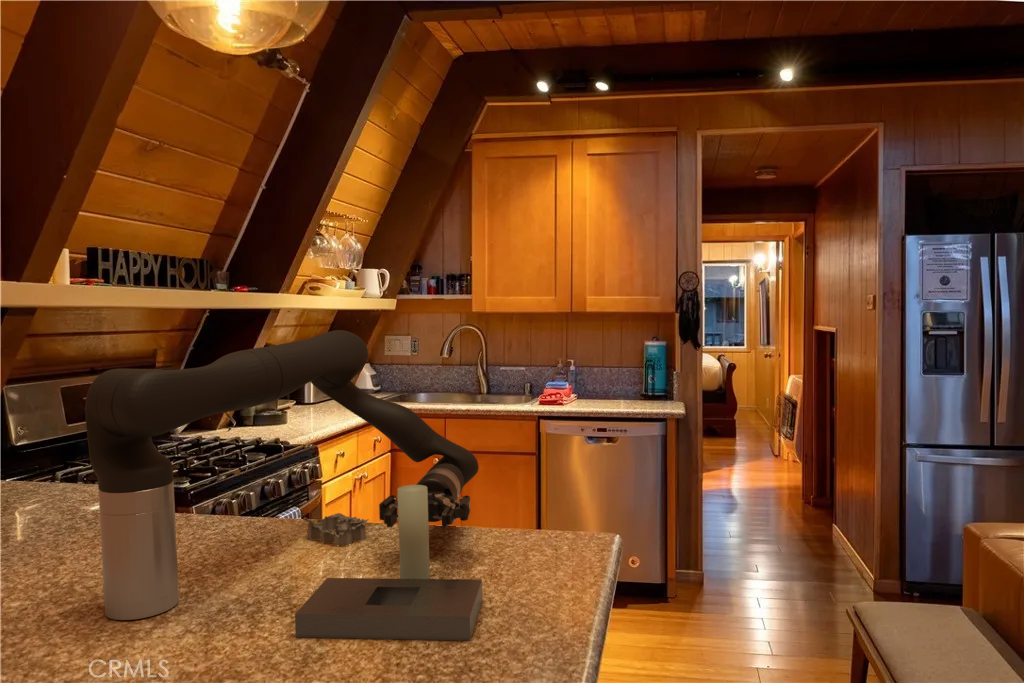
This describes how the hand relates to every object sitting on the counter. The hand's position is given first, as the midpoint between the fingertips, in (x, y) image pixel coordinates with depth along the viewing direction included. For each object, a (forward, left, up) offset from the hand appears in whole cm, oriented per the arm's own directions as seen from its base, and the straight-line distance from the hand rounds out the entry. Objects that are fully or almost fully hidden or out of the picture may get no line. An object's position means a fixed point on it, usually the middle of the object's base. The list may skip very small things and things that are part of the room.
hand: (416, 521), depth 111 cm
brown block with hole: (+11, -11, -8) cm, 18 cm away
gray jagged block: (-26, 0, -9) cm, 27 cm away
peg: (+2, -2, -8) cm, 9 cm away
